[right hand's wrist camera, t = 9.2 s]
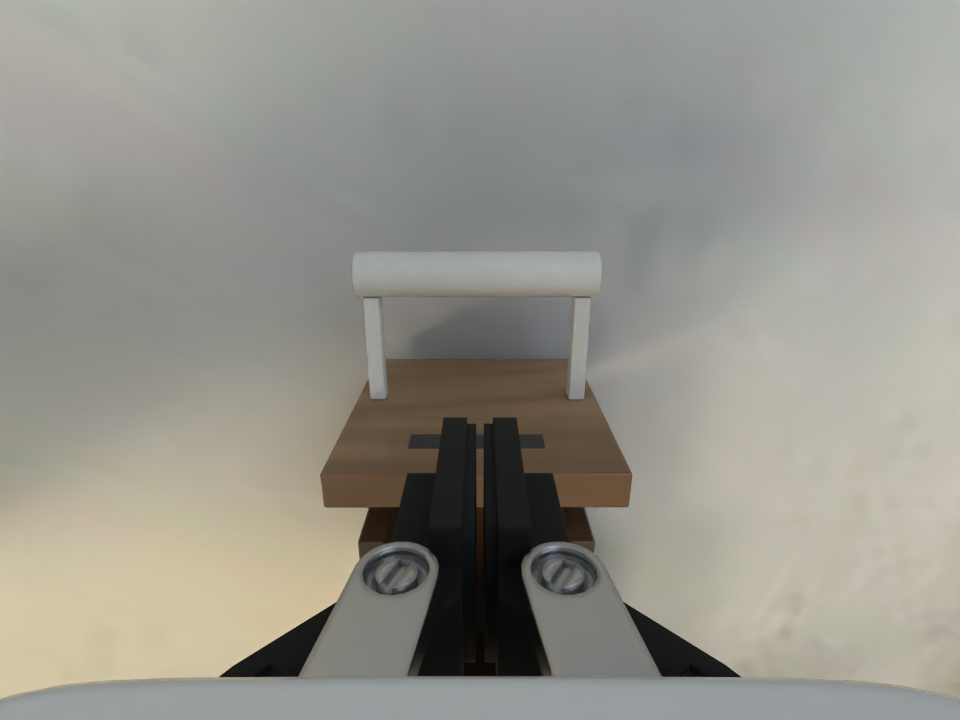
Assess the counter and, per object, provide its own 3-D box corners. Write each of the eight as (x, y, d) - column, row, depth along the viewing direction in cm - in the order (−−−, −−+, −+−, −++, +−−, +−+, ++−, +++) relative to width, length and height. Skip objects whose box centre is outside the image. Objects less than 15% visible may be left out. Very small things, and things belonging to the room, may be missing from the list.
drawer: (369, 235, 23) (296, 285, 14) (585, 235, 23) (655, 285, 14) (397, 625, 31) (362, 824, 21) (559, 625, 31) (593, 823, 21)
